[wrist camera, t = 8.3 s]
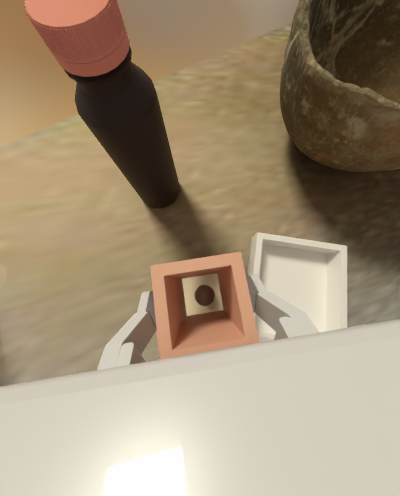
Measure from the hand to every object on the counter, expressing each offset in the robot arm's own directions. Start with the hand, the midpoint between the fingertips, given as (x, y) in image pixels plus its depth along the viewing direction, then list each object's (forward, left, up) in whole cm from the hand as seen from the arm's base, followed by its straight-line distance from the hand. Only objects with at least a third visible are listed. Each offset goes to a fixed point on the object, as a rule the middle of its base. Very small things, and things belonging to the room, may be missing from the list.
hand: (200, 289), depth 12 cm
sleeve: (0, -1, -5) cm, 5 cm away
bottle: (-10, +14, -14) cm, 23 cm away
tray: (+12, +1, -14) cm, 19 cm away
